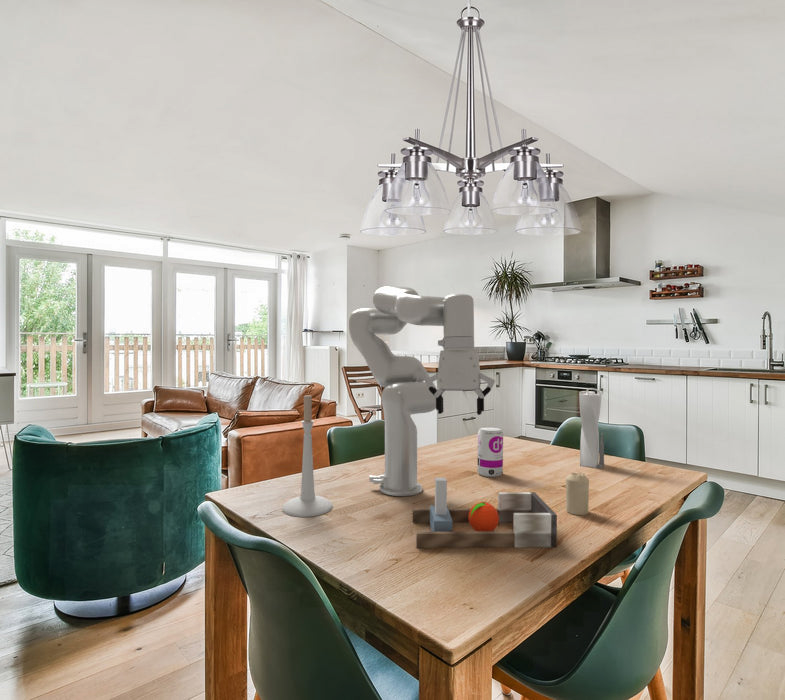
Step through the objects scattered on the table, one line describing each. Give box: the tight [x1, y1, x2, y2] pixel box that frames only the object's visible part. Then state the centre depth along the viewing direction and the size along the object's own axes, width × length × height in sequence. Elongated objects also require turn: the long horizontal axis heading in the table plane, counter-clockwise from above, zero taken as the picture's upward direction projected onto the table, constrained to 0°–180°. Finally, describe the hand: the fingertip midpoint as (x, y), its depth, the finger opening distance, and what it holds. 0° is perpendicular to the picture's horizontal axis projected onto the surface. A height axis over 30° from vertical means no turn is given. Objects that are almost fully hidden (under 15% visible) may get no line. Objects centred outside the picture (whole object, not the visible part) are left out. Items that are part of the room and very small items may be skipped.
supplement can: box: [477, 426, 504, 478], centre depth 162 cm, size 8×8×15 cm
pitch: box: [411, 491, 558, 549], centre depth 113 cm, size 30×15×7 cm, turn 91°
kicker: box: [429, 477, 453, 531], centre depth 112 cm, size 4×10×12 cm, turn 1°
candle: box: [565, 472, 590, 516], centre depth 127 cm, size 6×6×10 cm
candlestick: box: [282, 394, 333, 518], centre depth 129 cm, size 13×13×30 cm
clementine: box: [468, 501, 500, 531], centre depth 113 cm, size 8×7×7 cm
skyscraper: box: [578, 387, 605, 470], centre depth 173 cm, size 8×8×28 cm
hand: (459, 413), depth 122 cm, fingers open, 9 cm apart
